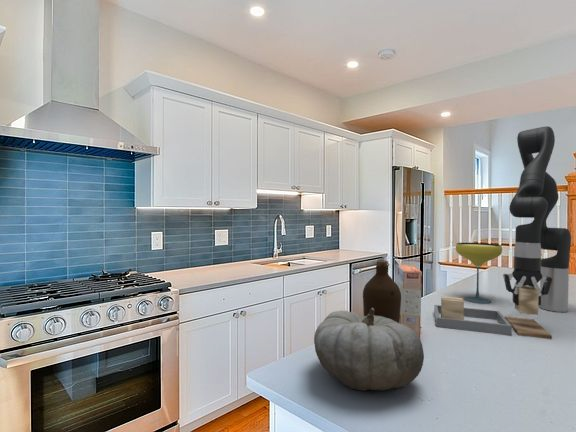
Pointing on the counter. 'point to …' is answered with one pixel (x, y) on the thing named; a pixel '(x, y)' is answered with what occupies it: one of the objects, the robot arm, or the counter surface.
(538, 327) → the board
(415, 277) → the cracker box
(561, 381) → the counter surface
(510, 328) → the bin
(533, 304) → the tan box
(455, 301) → the plain box
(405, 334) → the gourd
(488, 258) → the cocktail glass
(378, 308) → the olive oil
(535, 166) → the robot arm
